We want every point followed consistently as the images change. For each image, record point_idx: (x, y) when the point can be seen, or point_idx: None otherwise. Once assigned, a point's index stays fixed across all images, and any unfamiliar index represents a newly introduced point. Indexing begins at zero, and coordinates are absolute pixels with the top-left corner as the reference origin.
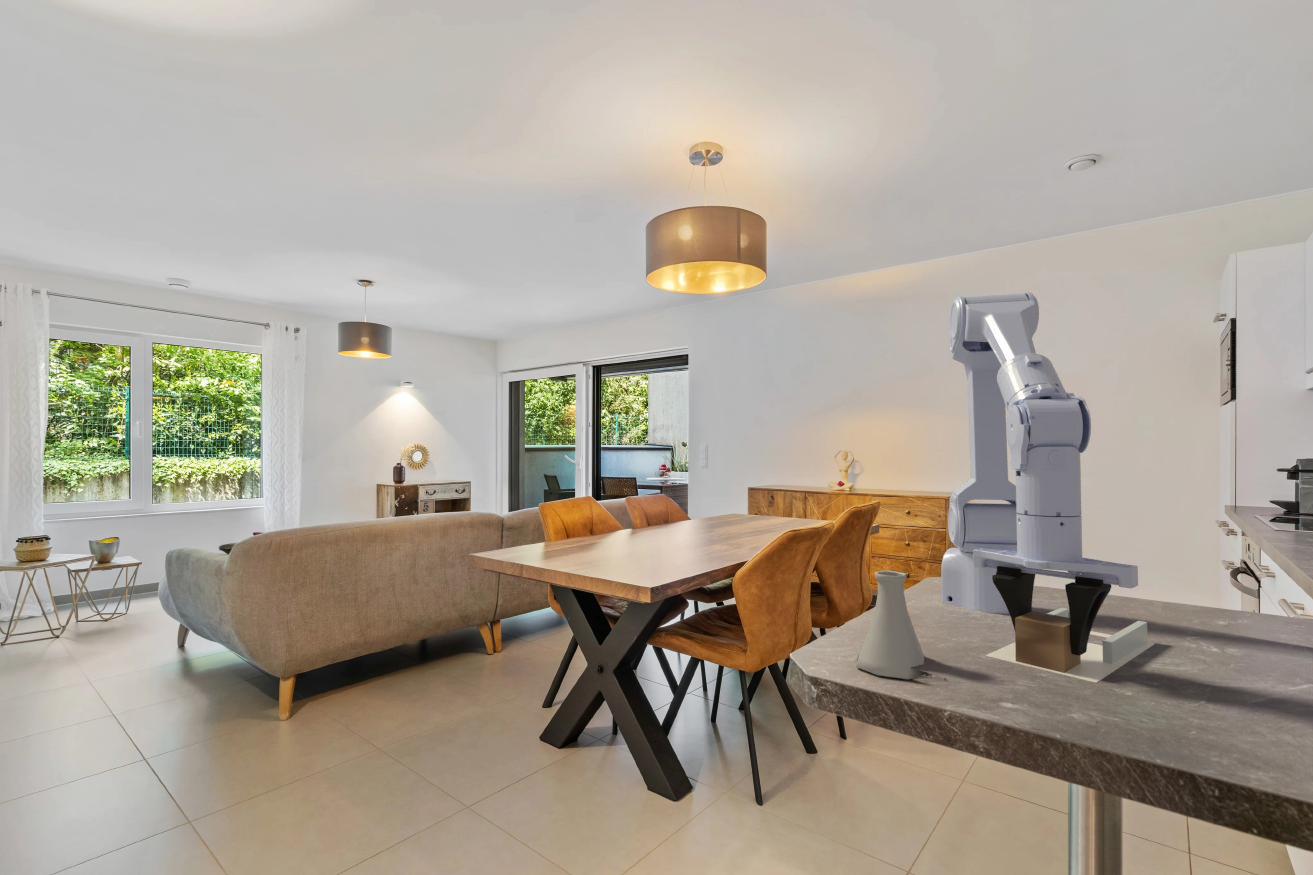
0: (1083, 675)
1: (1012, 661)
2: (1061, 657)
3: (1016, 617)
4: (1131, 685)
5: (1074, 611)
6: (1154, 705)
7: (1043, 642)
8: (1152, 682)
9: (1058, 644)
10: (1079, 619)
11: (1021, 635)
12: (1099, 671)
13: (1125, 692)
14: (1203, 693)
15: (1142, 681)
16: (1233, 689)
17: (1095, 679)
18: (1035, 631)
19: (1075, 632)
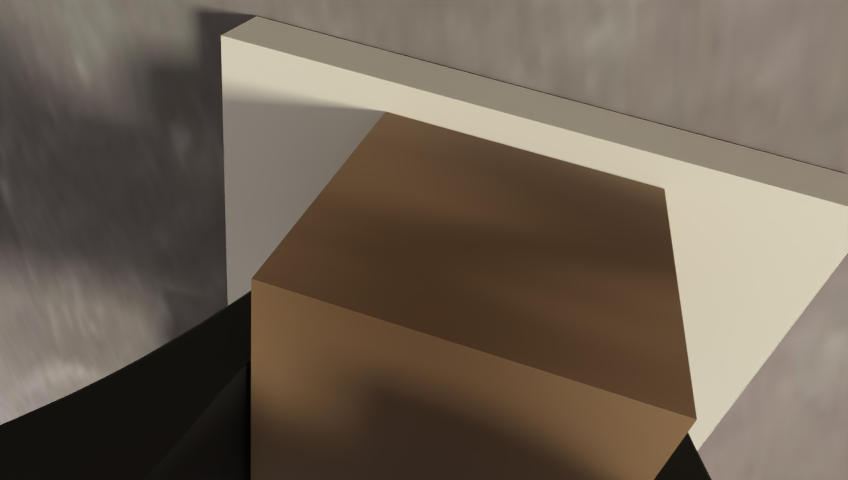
0: (299, 124)
1: (685, 173)
2: (369, 153)
3: (681, 435)
4: (205, 247)
5: (117, 448)
6: (65, 35)
7: (464, 230)
8: (172, 313)
9: (356, 200)
10: (133, 388)
11: (629, 291)
12: (265, 233)
13: (191, 146)
14: (42, 277)
15: (196, 309)
16: (19, 349)
17: (238, 85)
18: (509, 289)
19: (237, 324)
